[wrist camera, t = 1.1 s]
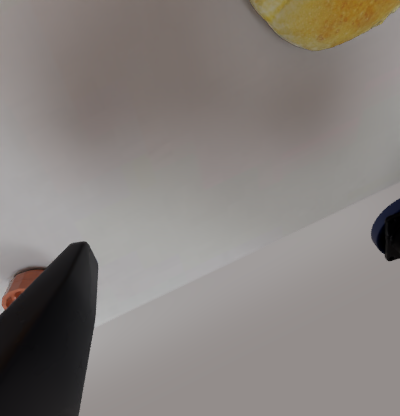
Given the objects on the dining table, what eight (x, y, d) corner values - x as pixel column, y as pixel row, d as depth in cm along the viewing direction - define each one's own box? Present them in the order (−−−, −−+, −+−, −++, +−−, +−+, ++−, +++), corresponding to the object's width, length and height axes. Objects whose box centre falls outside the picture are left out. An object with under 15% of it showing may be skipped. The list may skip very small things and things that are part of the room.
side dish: (82, 291, 28) (77, 313, 26) (38, 307, 28) (30, 328, 27) (47, 259, 25) (39, 281, 23) (-1, 277, 25) (-13, 299, 24)
